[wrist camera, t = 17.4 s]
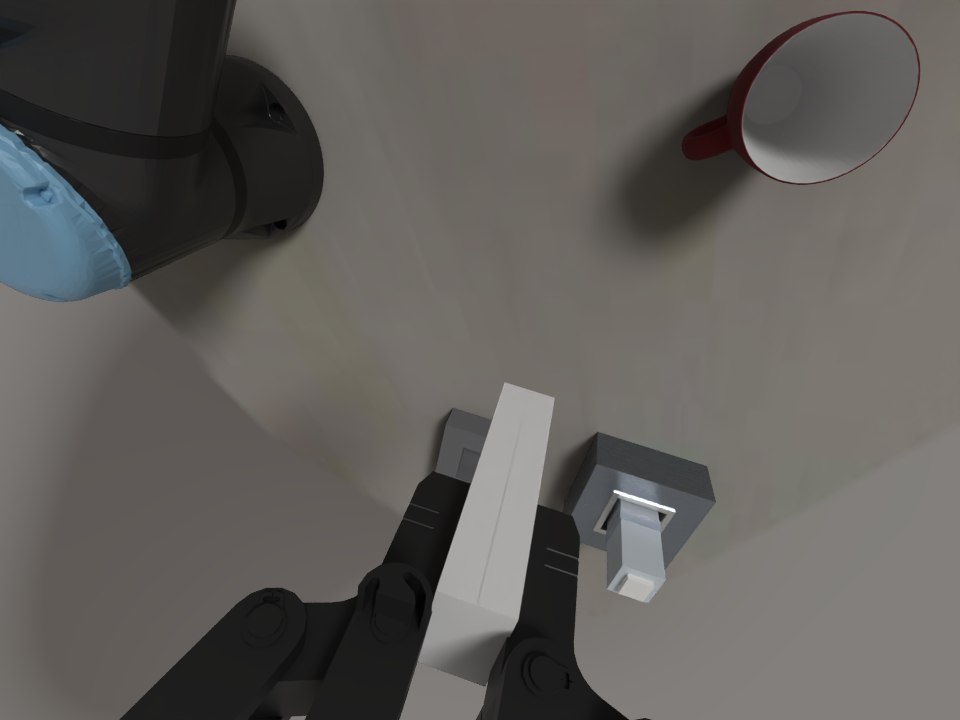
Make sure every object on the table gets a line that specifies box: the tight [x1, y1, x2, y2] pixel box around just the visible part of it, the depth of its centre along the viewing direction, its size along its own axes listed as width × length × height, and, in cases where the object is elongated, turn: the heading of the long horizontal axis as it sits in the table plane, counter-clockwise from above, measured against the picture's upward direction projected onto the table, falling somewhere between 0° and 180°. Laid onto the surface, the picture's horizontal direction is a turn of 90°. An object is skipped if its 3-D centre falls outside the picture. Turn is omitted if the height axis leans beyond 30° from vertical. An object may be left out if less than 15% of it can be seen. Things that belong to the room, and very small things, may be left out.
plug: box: [606, 498, 666, 603], centre depth 49 cm, size 4×4×13 cm
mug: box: [682, 11, 920, 185], centre depth 30 cm, size 10×8×10 cm
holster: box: [435, 408, 492, 484], centre depth 55 cm, size 10×10×3 cm
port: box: [563, 432, 716, 570], centre depth 52 cm, size 12×12×6 cm
